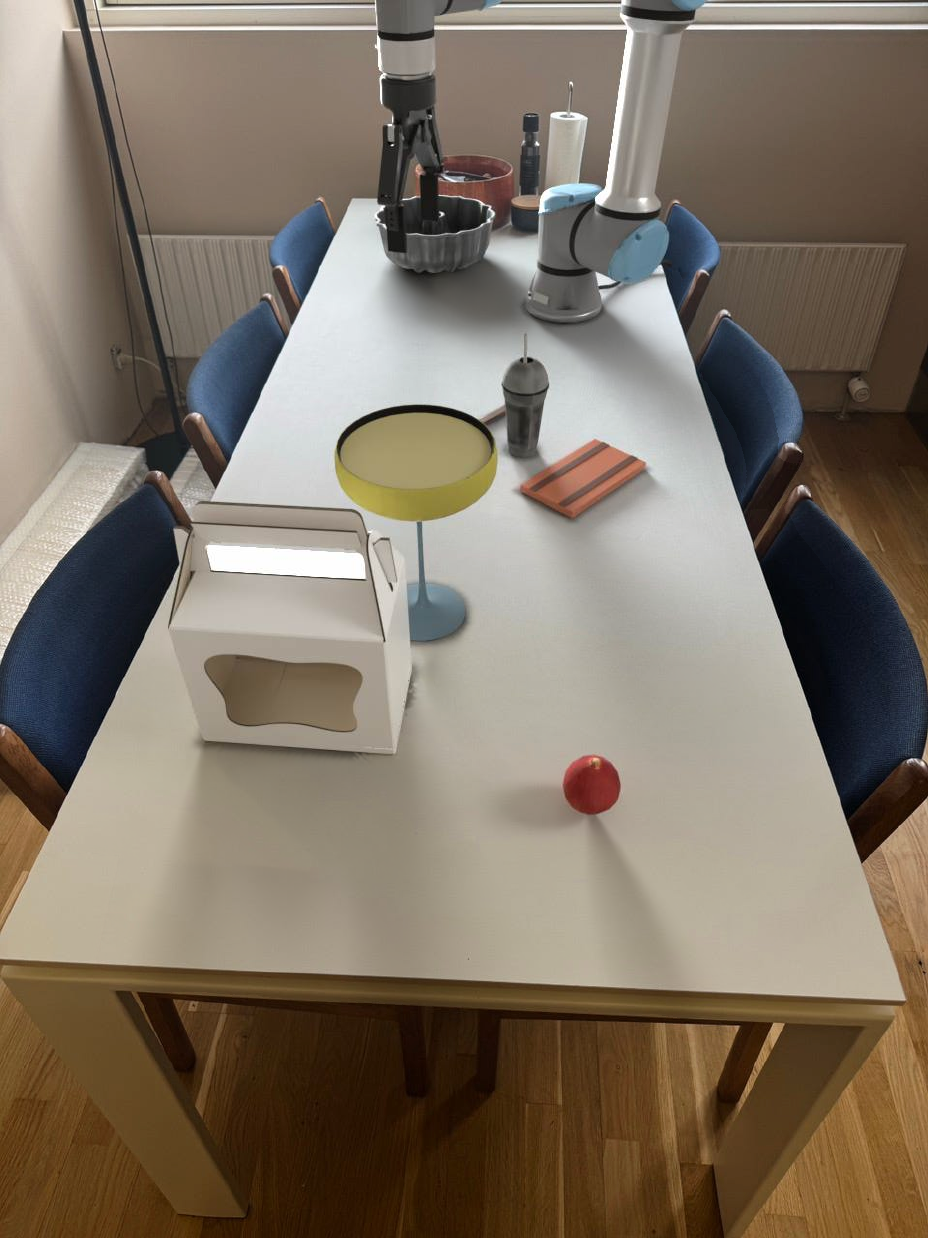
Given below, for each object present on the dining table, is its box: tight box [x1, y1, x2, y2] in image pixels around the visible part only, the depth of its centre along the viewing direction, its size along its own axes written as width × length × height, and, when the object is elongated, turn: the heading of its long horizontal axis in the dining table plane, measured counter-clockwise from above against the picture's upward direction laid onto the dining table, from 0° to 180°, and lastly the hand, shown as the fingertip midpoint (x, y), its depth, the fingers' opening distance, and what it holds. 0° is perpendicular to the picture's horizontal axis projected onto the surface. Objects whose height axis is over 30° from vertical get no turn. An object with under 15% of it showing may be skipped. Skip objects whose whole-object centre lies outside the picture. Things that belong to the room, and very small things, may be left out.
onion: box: [562, 754, 622, 816], centre depth 91 cm, size 6×6×8 cm
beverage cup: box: [501, 333, 550, 458], centre depth 137 cm, size 7×7×20 cm
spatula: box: [477, 404, 506, 426], centre depth 149 cm, size 21×6×1 cm, turn 136°
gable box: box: [167, 500, 413, 755], centre depth 95 cm, size 22×13×28 cm, turn 85°
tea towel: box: [520, 438, 647, 519], centre depth 137 cm, size 18×10×1 cm, turn 136°
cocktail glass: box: [334, 403, 499, 642], centre depth 107 cm, size 18×18×25 cm
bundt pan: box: [374, 194, 496, 274], centre depth 199 cm, size 26×26×10 cm
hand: (414, 235), depth 135 cm, fingers open, 13 cm apart
